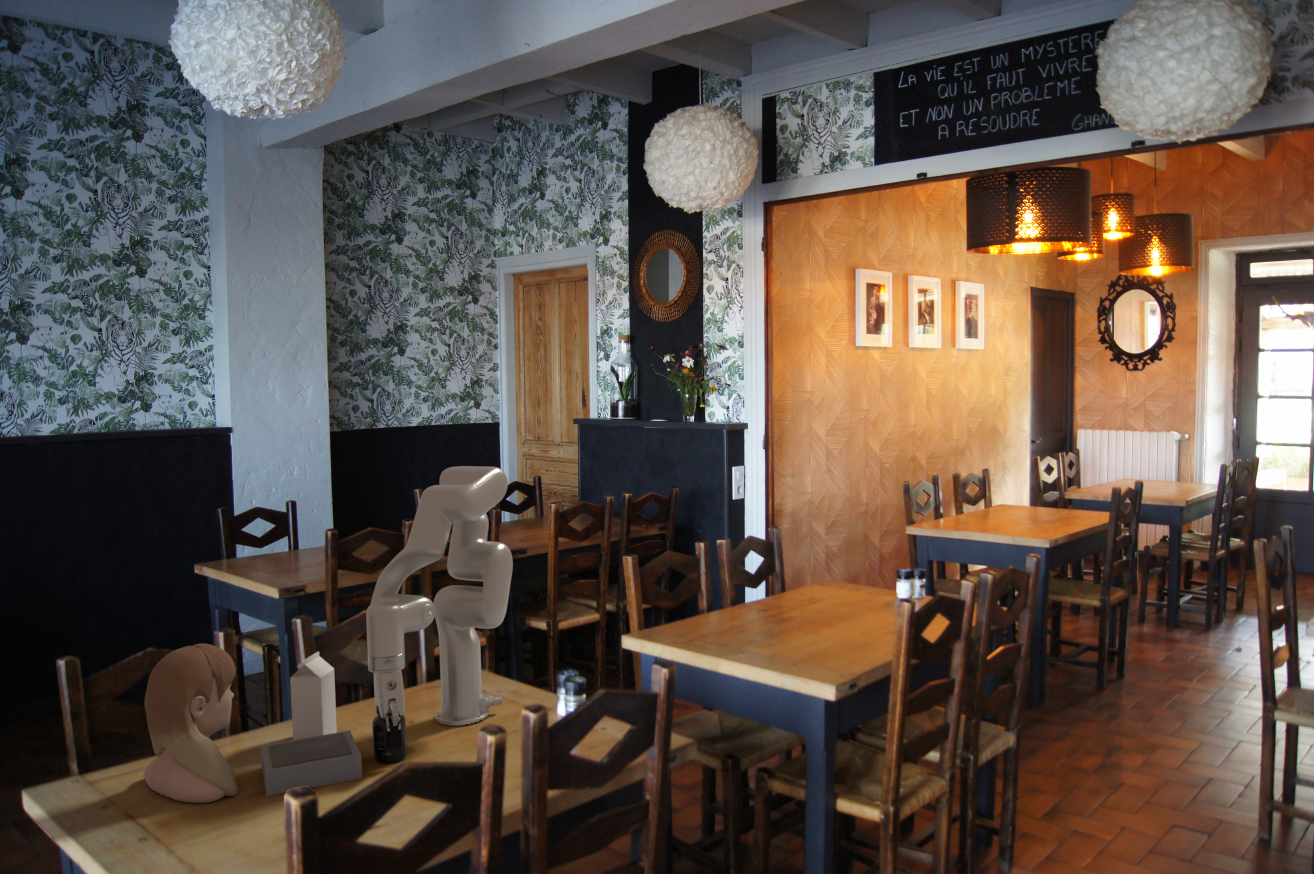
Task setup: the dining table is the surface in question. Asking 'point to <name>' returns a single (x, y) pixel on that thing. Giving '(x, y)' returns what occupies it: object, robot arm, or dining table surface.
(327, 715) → the milk carton
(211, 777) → the head mannequin
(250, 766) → the dining table surface
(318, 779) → the display riser
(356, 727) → the dining table surface
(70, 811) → the dining table surface
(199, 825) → the dining table surface
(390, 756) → the supplement bottle
